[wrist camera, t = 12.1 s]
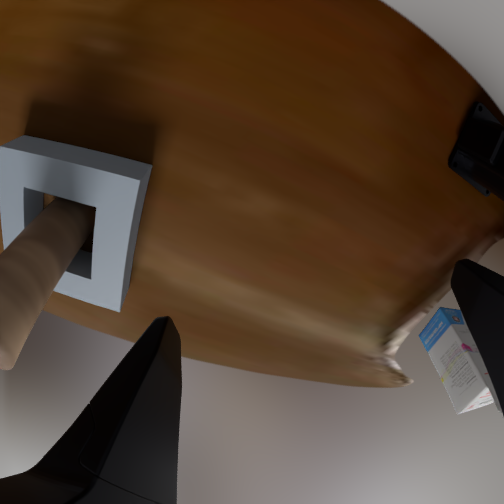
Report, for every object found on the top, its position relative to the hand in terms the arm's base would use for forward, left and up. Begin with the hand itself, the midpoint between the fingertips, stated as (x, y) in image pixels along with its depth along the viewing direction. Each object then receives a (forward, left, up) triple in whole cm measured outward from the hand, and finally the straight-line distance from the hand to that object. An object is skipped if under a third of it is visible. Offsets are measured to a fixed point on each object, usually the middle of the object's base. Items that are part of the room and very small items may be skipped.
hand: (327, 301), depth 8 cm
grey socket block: (+13, +8, -13) cm, 20 cm away
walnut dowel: (+13, +8, -13) cm, 20 cm away
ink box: (-28, +9, -13) cm, 32 cm away
